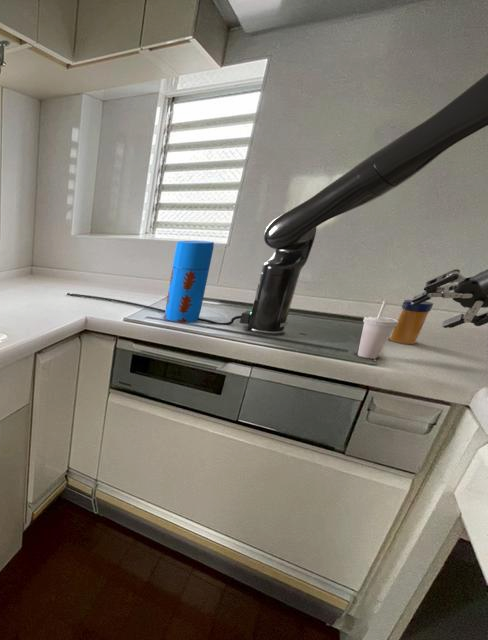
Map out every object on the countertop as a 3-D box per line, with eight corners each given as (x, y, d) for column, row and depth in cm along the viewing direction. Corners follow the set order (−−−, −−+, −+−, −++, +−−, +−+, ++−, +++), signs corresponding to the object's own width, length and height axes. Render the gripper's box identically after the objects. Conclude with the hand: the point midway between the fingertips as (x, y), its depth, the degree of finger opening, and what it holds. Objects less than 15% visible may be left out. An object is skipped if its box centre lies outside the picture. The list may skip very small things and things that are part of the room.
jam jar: (392, 342, 113) (407, 304, 108) (387, 337, 117) (402, 300, 112) (417, 345, 110) (434, 306, 106) (412, 340, 114) (428, 302, 110)
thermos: (164, 321, 134) (178, 242, 125) (163, 313, 144) (175, 240, 134) (200, 323, 131) (217, 243, 121) (197, 316, 140) (212, 241, 131)
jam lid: (404, 310, 109) (407, 302, 108) (398, 306, 113) (401, 298, 113) (433, 312, 106) (436, 305, 105) (426, 308, 111) (429, 301, 110)
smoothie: (350, 350, 106) (369, 297, 101) (383, 355, 103) (405, 301, 97) (351, 356, 102) (371, 302, 96) (385, 362, 98) (408, 305, 93)
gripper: (554, 285, 83) (456, 322, 98) (492, 243, 84) (405, 286, 99) (550, 307, 80) (451, 342, 95) (486, 264, 82) (398, 305, 96)
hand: (427, 314), depth 97 cm, fingers open, 8 cm apart
